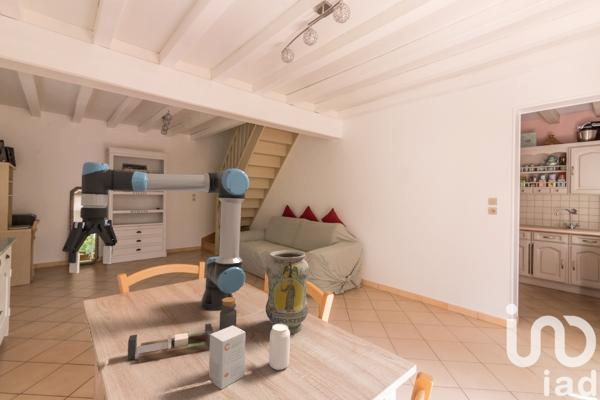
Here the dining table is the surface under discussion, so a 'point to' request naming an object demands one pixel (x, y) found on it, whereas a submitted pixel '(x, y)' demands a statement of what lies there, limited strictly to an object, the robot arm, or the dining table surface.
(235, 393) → the dining table surface
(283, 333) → the beverage can
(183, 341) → the cream cube
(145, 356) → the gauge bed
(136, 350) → the grey sliding carriage
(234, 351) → the small box
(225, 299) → the bottle
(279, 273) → the vase
